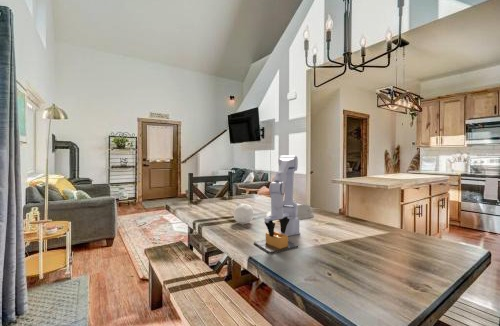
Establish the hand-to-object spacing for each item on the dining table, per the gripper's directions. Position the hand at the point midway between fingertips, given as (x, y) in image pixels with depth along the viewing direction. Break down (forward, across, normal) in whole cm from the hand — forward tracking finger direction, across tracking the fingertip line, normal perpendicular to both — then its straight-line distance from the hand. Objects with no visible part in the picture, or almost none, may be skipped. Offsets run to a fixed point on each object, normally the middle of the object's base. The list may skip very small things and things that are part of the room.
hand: (277, 234), depth 122 cm
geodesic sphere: (+6, -11, -44) cm, 46 cm away
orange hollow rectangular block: (+5, 0, 0) cm, 5 cm away
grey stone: (+7, -53, -31) cm, 61 cm away
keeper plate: (+6, 0, -1) cm, 6 cm away
